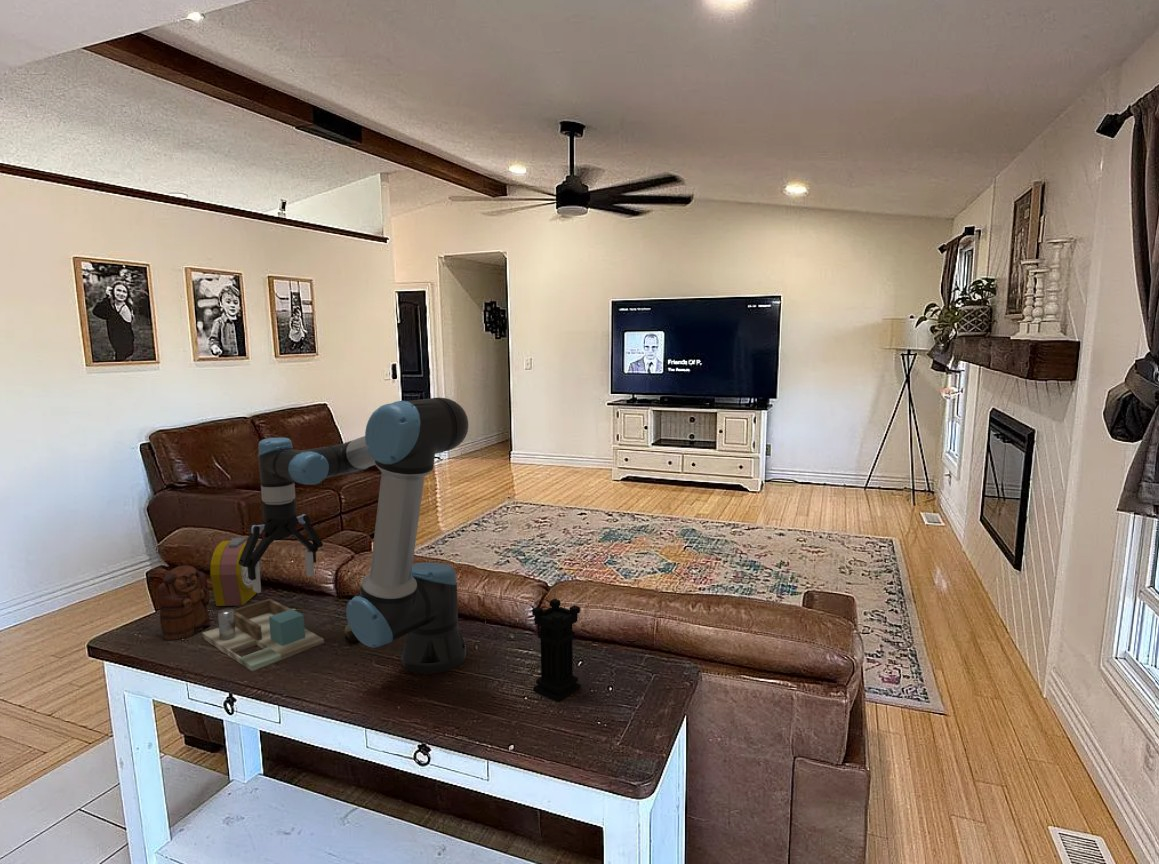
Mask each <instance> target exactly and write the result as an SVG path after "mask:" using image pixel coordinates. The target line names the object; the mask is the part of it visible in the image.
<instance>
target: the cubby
mask: <svg viewBox="0 0 1159 864" xmlns="http://www.w3.org/2000/svg"><path fill="white" fill-rule="evenodd" d="M291 609H292V608H289V607H288V606H286V605H283V604H281V603H280V602H278V601H276V600H274V599H272V598H268V599H264V600H260V601H258V602H255V603H254V602H253V603H251V604H248V605H245V606H244V605H243V606H241V607H239V608H234V609H233V610H234V622H235V627H237V628H238V629H240V630H241V631H243V632H245V633H246V634H248V635H250V636H251V637H253V638H254V639H256V640H258V641H259V640H262V632H261V626H260V625H258V624H256V623H255V622H253V621H251V620H249V619H251V618H254V617H257V616H260V615H263V614H266V613H271V614H273V615H276V614H279V613H282V612H285V611H288V610H291Z"/></svg>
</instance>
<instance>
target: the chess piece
mask: <svg viewBox="0 0 1159 864" xmlns="http://www.w3.org/2000/svg"><path fill="white" fill-rule="evenodd" d="M580 613H581V606H578V605H575V604H573V605H571V606H569V609H567V608H566V607H562V606H561V599H560V600H559V599H557V598H553V599H551V600H549V607H548V608H545V609H543V608H542V607H540V606H536V607H534V608H532V610H531V614H532V616H534V624H535V625H538V626H540V632H539V633H537V638H538V639H540V676H539V677H538V678H537V679H535V684H536V685H534V686H533V692H536V693H538V694H540V695H543V696H544V697H546V698H549V699H551V700H553V701H555V702H557V703H560V702H561V701H563V700H565V699H566V698H567V697H569V696H570V695H572V694H574V693H575V692H577V691H578V690H579V689H581V687H582V685H581V684H580V683H578V681H579V677H578V676H574V672H573V671H574V670H573V665H574V664H573V663H574V661H573V655H574V654H573V638H574V637H575V636H576V632H575V631H573V625H574V624H575V623H577V622H578V620H579V619H578V618H579V617H578V614H580Z"/></svg>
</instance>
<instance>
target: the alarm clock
mask: <svg viewBox="0 0 1159 864" xmlns="http://www.w3.org/2000/svg"><path fill="white" fill-rule="evenodd" d="M247 540H248V537H233V538H232V539H231V540H223V541H220V543H218V545H216V547H215V549H214V551H213V554H212V557H211V562H210V568H209V569H210V579H211V584H212V590H213V596H214V600H215V605H216V607H223V606H224V607H228V606H230V607H231V606H233V607H234V606H235V607H237V606H239V607H240V606H244V605H245V604H246V603H247V602H249V601H250V600H251V599H252V598H253V597H255V596H256V594H258V593H257V592H255V591H253V585H252V580H250V579H249V578H248V569H247V567H243V566H241V565H239V564H238V562H239V559H240V557H241V555H242V552H243V550H244V547H245V545H246V542H247ZM257 546H258V543H257V544H256V546H255V549H256V547H257ZM255 549H254V550H255ZM253 552H254V551H253ZM257 566H259V569H260V570H261V569H262V558H261V559H260V560H259V562H258V563H257Z"/></svg>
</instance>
